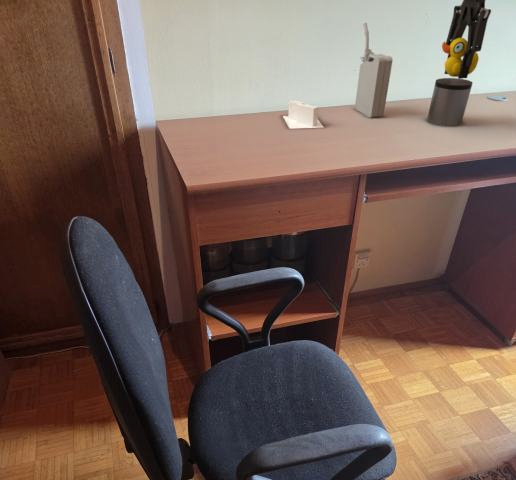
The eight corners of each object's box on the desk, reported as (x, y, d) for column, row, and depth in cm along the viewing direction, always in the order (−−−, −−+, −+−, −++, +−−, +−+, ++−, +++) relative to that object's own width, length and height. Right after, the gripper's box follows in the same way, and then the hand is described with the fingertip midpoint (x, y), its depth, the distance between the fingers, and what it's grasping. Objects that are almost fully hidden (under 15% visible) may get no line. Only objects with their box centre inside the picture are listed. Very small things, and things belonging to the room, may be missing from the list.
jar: (462, 127, 143) (473, 86, 136) (426, 124, 146) (435, 84, 138) (461, 118, 151) (471, 79, 143) (427, 115, 154) (435, 77, 146)
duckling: (435, 77, 139) (444, 38, 133) (435, 74, 143) (443, 36, 136) (474, 79, 137) (485, 39, 130) (472, 75, 141) (483, 37, 134)
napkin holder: (324, 127, 144) (326, 107, 140) (289, 128, 143) (290, 109, 139) (314, 114, 155) (315, 96, 151) (282, 116, 154) (282, 97, 150)
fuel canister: (350, 107, 163) (360, 22, 146) (363, 106, 164) (374, 22, 147) (369, 118, 152) (383, 28, 135) (383, 117, 153) (398, 27, 136)
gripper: (446, -21, 131) (427, 70, 146) (490, -18, 117) (464, 83, 132) (468, -22, 132) (447, 69, 147) (514, -19, 118) (486, 81, 134)
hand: (455, 75), depth 140 cm, fingers closed on duckling, 6 cm apart
